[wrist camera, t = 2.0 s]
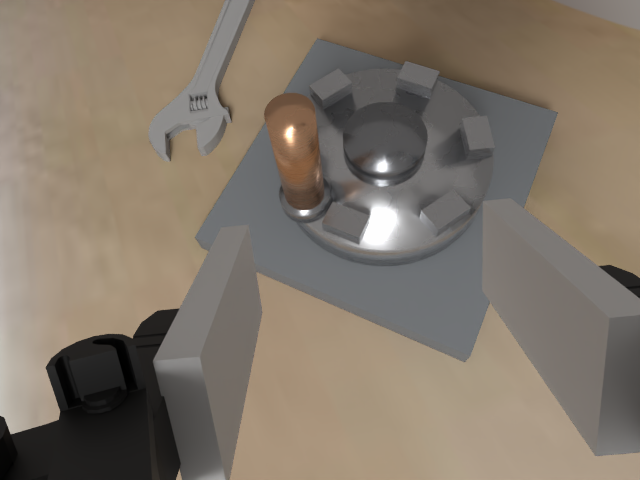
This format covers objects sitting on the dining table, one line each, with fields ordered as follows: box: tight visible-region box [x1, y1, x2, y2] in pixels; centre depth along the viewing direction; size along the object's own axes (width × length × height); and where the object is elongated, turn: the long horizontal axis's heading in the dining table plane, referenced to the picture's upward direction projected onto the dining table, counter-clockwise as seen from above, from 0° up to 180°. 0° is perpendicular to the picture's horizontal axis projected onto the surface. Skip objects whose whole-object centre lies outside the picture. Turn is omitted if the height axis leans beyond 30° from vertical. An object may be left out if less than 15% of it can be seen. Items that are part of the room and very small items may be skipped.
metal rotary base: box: [264, 61, 495, 266], centre depth 36 cm, size 17×16×13 cm
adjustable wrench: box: [149, 0, 255, 161], centre depth 50 cm, size 25×6×2 cm, turn 162°
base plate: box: [195, 38, 558, 362], centre depth 43 cm, size 22×22×2 cm
